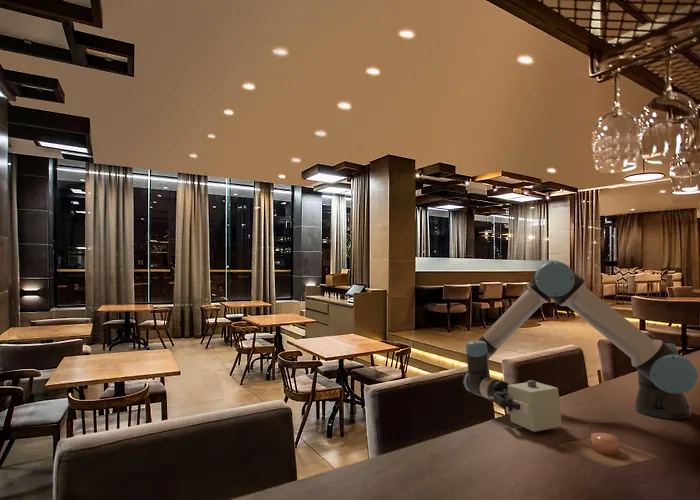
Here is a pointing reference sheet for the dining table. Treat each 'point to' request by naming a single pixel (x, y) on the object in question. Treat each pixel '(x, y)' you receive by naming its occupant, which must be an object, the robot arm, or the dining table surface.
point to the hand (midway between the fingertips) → (544, 407)
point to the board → (610, 461)
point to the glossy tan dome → (605, 443)
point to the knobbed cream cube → (536, 405)
